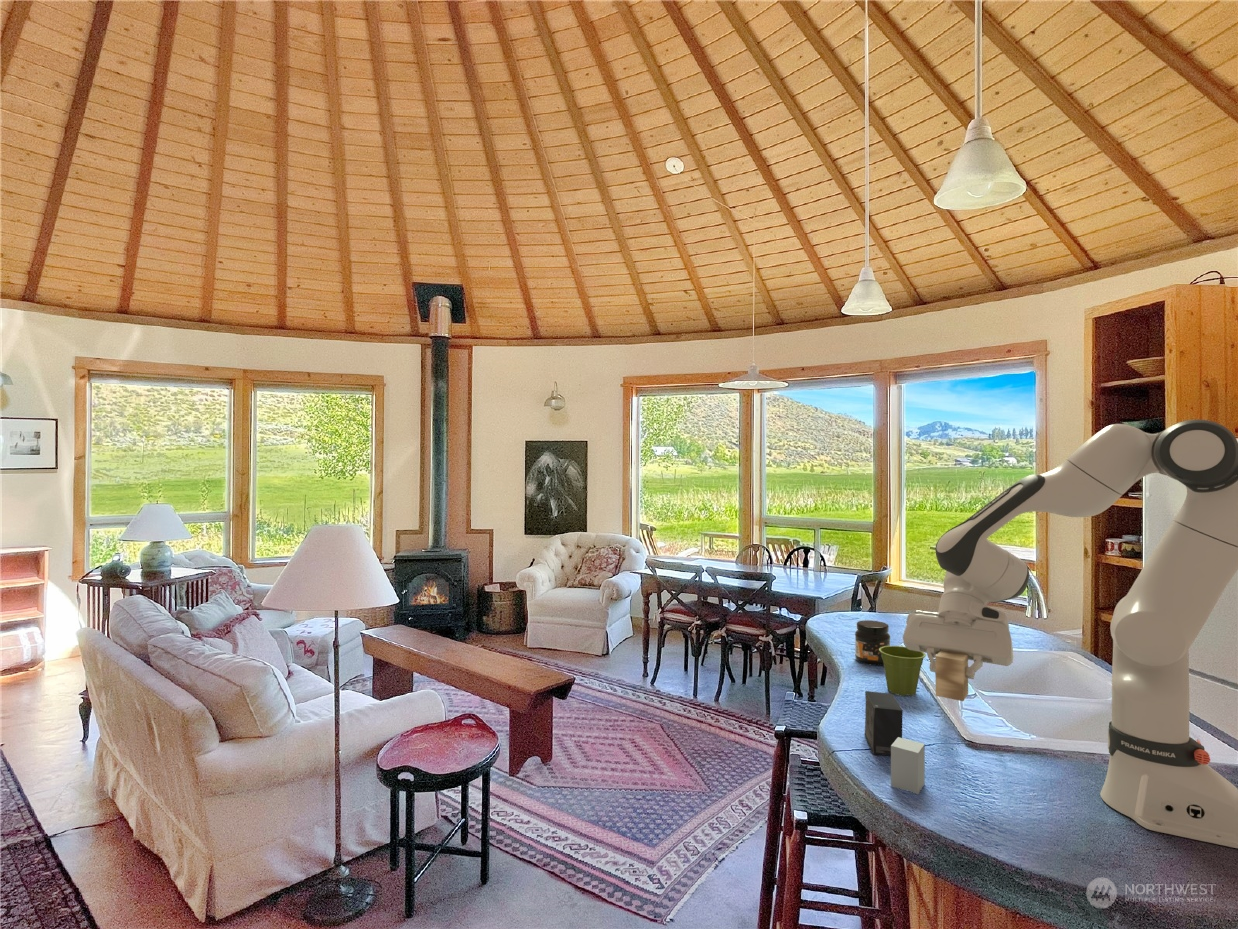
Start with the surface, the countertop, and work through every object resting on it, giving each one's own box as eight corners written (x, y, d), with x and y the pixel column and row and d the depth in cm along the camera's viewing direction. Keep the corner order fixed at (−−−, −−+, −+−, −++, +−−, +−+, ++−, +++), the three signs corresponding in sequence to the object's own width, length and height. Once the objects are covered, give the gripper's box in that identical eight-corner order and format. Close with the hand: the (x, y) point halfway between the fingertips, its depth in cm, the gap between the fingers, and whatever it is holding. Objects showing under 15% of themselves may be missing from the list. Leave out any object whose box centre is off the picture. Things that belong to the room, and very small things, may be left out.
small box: (904, 758, 137) (904, 709, 137) (872, 755, 138) (872, 707, 138) (893, 737, 147) (893, 692, 147) (863, 735, 149) (863, 690, 149)
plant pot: (928, 702, 169) (928, 660, 169) (880, 697, 173) (880, 655, 173) (922, 687, 180) (922, 647, 180) (877, 682, 184) (877, 643, 184)
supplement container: (848, 660, 204) (848, 623, 204) (864, 654, 211) (864, 618, 211) (880, 668, 196) (881, 630, 196) (896, 661, 203) (896, 624, 203)
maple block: (968, 694, 129) (968, 654, 129) (963, 701, 125) (963, 660, 125) (941, 688, 132) (941, 650, 132) (935, 695, 128) (935, 656, 128)
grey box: (924, 784, 126) (924, 744, 126) (918, 794, 122) (918, 753, 122) (898, 776, 129) (898, 737, 129) (890, 786, 125) (890, 745, 125)
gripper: (906, 601, 141) (893, 656, 133) (1014, 614, 128) (1007, 676, 120) (911, 617, 144) (899, 671, 136) (1017, 632, 131) (1011, 692, 124)
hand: (951, 674), depth 128 cm, fingers closed on maple block, 5 cm apart
